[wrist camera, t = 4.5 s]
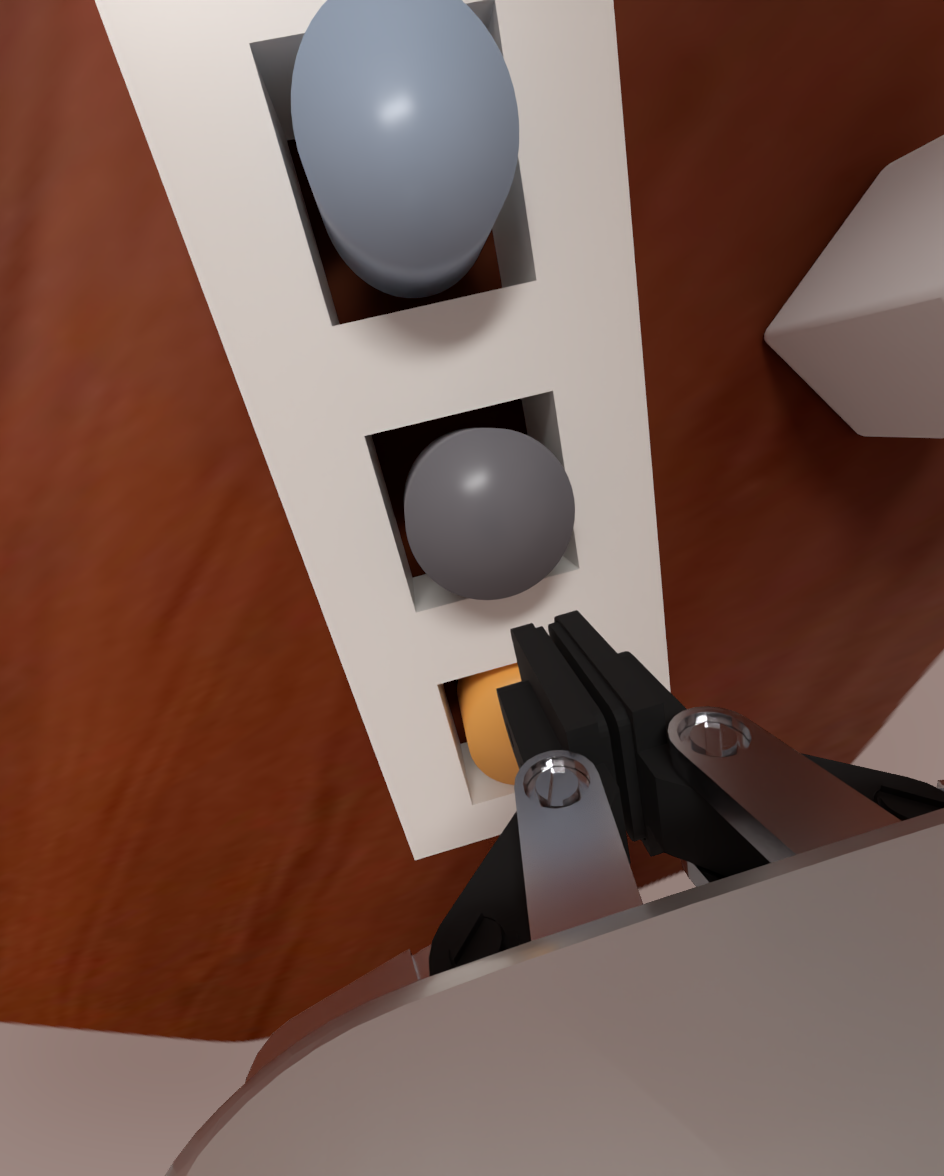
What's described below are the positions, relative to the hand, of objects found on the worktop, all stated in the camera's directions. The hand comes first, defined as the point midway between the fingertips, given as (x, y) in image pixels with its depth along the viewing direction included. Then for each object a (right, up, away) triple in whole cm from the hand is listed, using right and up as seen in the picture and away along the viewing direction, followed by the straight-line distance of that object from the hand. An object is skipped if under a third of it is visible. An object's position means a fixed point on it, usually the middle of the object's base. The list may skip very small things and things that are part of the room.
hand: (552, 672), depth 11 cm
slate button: (-4, +13, +2) cm, 14 cm away
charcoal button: (-2, +5, +5) cm, 8 cm away
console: (-2, +6, +8) cm, 10 cm away
